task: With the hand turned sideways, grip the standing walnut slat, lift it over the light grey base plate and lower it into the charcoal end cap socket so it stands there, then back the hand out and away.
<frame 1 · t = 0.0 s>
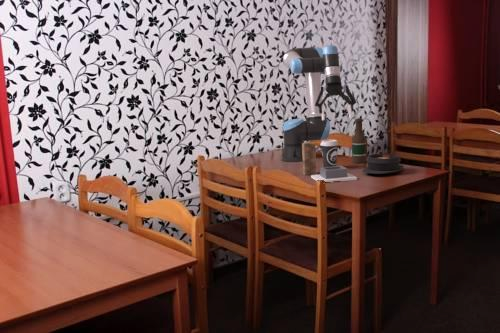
hand: (337, 119, 265), 28 cm above the table, tool tilted 20°, fingers open, 13 cm apart
casserole: (383, 172, 272), on the table
beer bottle: (359, 162, 299), on the table
coffee cup: (330, 169, 286), on the table
end cap plate: (333, 178, 263), on the table
walnut slat: (309, 174, 275), on the table
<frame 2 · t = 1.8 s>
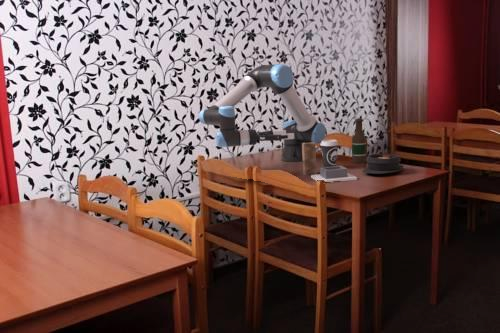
hand: (289, 134, 269), 21 cm above the table, tool horizontal, fingers open, 13 cm apart
nothing on the table moved.
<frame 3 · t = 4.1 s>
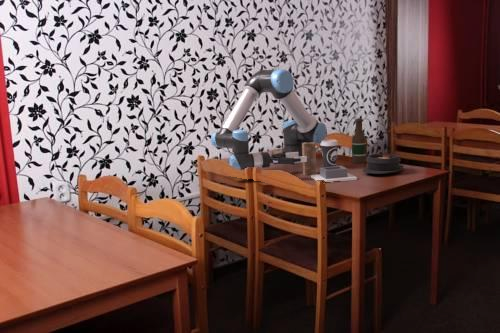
hand: (302, 156, 272), 9 cm above the table, tool horizontal, fingers open, 13 cm apart
nothing on the table moved.
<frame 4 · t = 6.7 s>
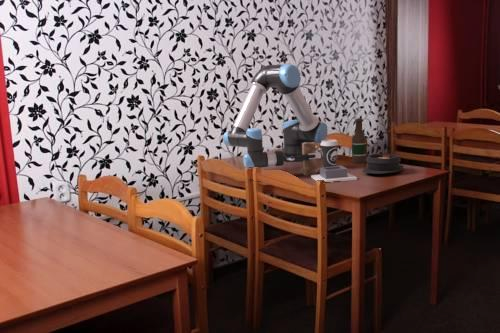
hand: (319, 154, 275), 10 cm above the table, tool horizontal, fingers closed on walnut slat, 3 cm apart
walnut slat: (309, 174, 275), on the table, touching gripper
everything else where it was.
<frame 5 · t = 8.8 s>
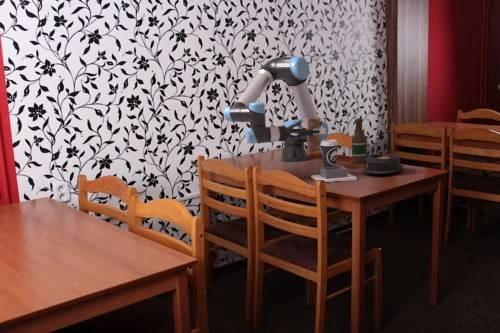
hand: (324, 130, 268), 22 cm above the table, tool horizontal, fingers closed on walnut slat, 3 cm apart
walnut slat: (313, 150, 268), point 13 cm above the table, touching gripper
everything else where it was.
when the fingers open (12 cm above the table, at t = 11.1 s): walnut slat drops 1 cm, resting on end cap plate.
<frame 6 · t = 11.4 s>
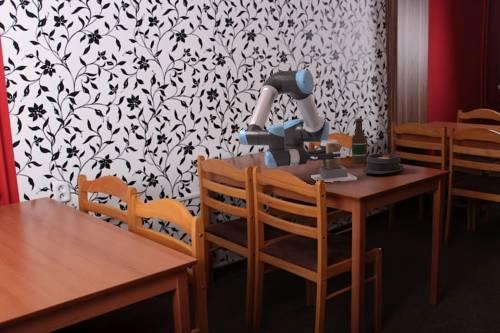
hand: (342, 152, 261), 12 cm above the table, tool horizontal, fingers open, 7 cm apart
walnut slat: (333, 176, 262), point 1 cm above the table, touching end cap plate
everything else where it was.
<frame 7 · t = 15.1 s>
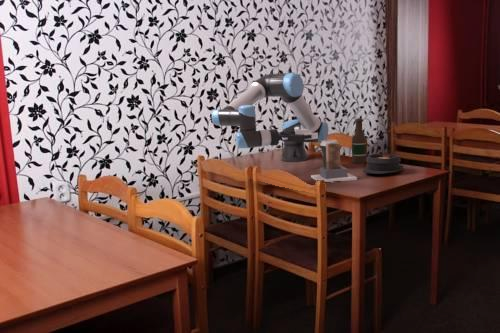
hand: (312, 133, 256), 23 cm above the table, tool horizontal, fingers open, 13 cm apart
nothing on the table moved.
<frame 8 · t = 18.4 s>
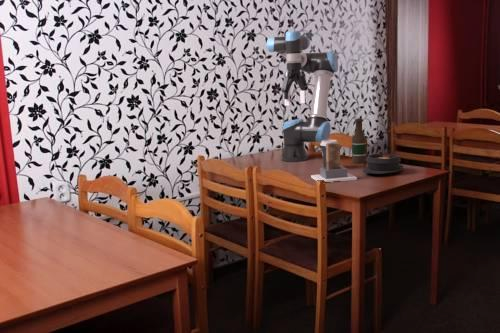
hand: (295, 104, 279), 35 cm above the table, tool pointing down, fingers open, 13 cm apart
nothing on the table moved.
at the end: walnut slat 0.0 cm off-centre on the end cap plate, point 1.2 cm above the end cap plate's base; walnut slat tilted 0°; the gripper is holding nothing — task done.
